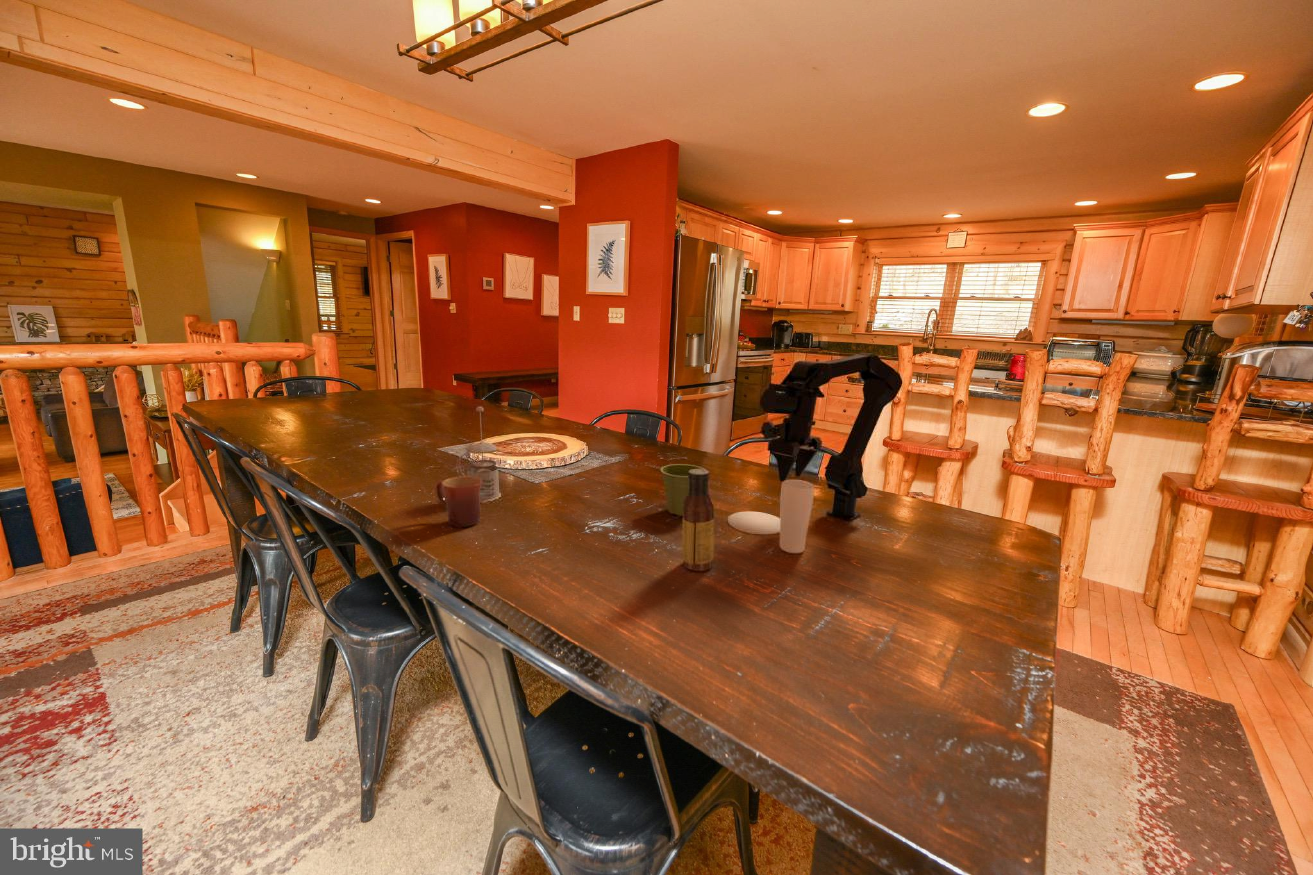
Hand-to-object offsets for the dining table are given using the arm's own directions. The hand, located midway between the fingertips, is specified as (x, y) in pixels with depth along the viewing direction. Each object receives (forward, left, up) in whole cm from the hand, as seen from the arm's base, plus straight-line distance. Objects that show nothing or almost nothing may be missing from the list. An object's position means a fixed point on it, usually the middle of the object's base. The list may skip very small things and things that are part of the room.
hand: (790, 478), depth 120 cm
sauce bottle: (+33, +1, -12) cm, 35 cm away
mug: (+61, -50, -12) cm, 80 cm away
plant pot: (+14, -22, -12) cm, 29 cm away
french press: (+50, -63, -12) cm, 81 cm away
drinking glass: (+11, +9, -12) cm, 18 cm away
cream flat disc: (+5, -5, -12) cm, 14 cm away
